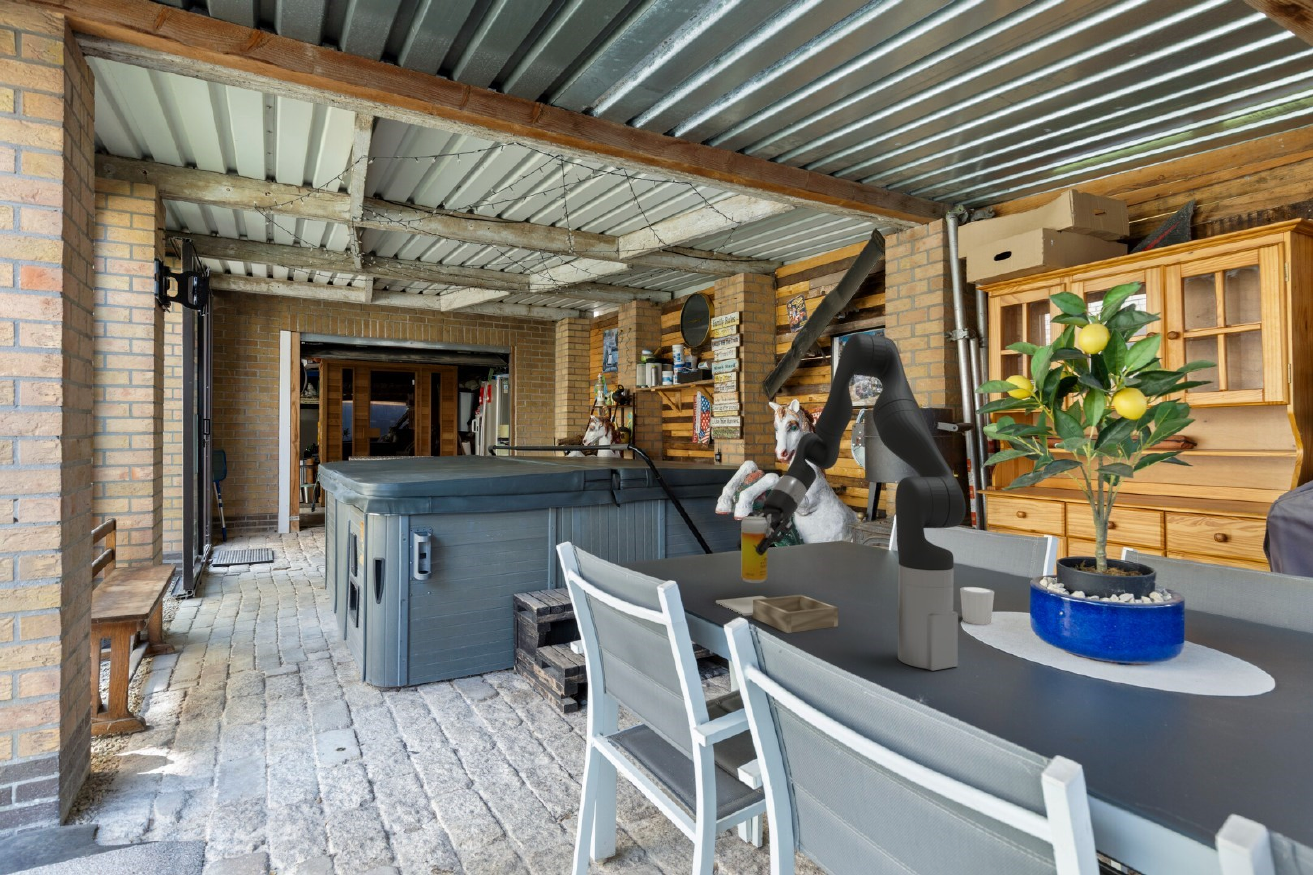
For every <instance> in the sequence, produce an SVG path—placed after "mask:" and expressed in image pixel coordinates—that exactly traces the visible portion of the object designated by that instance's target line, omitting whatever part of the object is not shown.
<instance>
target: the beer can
mask: <svg viewBox="0 0 1313 875" xmlns="http://www.w3.org/2000/svg"><path fill="white" fill-rule="evenodd" d="M740 524H741V525H740V528H741V531H740V532H741V533H740V534H741V537H740V539H741V551H740V552H741V554H740V555H741V556H740V559H741V560H740V563H741V564H740V567H741V570H740V573H741V574H740V578H742V580H743V582H744V583H745V582H746V583H749V584H760V583H761V584H762V583H765V581H766V580H767V579H768V550H767V551H766V552H765V553H764V554H763V555H759V554H758V553H757V552H756V548H757V546H758V545H759V543H760V542H761V540H762V539H763V538H765V533H766V528H767V521H766V518H764V517H747V516H743V517H742V520H741V523H740Z"/></svg>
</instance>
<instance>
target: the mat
mask: <svg viewBox="0 0 1313 875" xmlns="http://www.w3.org/2000/svg"><path fill="white" fill-rule="evenodd" d="M765 598H767V597H765V596H763V595H757V596H747V597H746V596H745V597H738V598H737V597H736V598H729V599H717V600H715V604H716V605H719V604H720V605H719V606H721V605H722V606H721V607H724V608H726V609H728V608H729V609H728V610H730V609H731V610H730V611H732V610H733V611H732V612H735V613H737V612H738V613H737V614H739V615H741V614H742V615H741V616H742V617H743V616H744V617H746V616H753V600H755V599H765Z"/></svg>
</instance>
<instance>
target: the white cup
mask: <svg viewBox="0 0 1313 875" xmlns="http://www.w3.org/2000/svg"><path fill="white" fill-rule="evenodd" d="M959 590H960V591H959V592H960V602H961V613H962V621H963V622H965V623H969V624H973V625H978V626H979V625H981V626H984V625H990V624H992V616H993V609H994V608H993V607H994V598H995V590H992V589H989V588H984V587H978V586H964V587H960V589H959Z"/></svg>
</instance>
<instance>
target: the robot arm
mask: <svg viewBox="0 0 1313 875" xmlns="http://www.w3.org/2000/svg"><path fill="white" fill-rule="evenodd" d="M854 376H863V377H868V378H875V379H877V380H878V381H879V382H880V384H881V387H882V390H881V392H880V394H879V395H878V397H877V399H876V400H875V402H874V405H873V409H872V420H873V422H874V425H875V428H876V431H877V433H878V436H879V438H880V440H881V442H882V443H883V445H884V446H885V447H886V448H887V449H888V450H889V451H890V452H892V453H893V454H894V455H895V456H896V457H898V458H899V459H900V460H901V461H903V462H905V463H906V464H907V465H908V466H910V467H911V468H912V469H913V470H914V471H915V472H916V473H917V474H918V476H907V477H903V478H901V480H899V482H898V484H897V486H896V490H895V499H894V500H895V502H894V504H895V522H896V528H895V529H896V547H897V554H898V577H897V578H898V584H897V586H898V588H897V590H898V593H897V595H898V596H897V597H898V598H897V599H898V600H897V601H898V602H897V603H898V604H897V611H898V612H897V659H898V660H899V661H900V662H901V663H903V664H906V665H908V666H911V667H915V668H920V669H925V670H929V671H937V670H938V671H939V670H944V669H949V668H950V669H951V668H955V667H958V665H959V663H958V660H959V659H958V655H959V654H958V653H959V652H958V650H959V649H958V648H959V646H958V644H959V642H958V641H959V637H958V633H959V613H958V612H957V611H954V564H955V562H954V554H953V552H952V551H951V550H949V549H946V548H945V547H941V546H939V545H936V544H933V543H932V542H930V541H929V540H928V539H927V538H926V535H925V529H949V528H955V527H957V526H959V525H961V524H962V523H963V522H964V519H965V516H966V509H967V508H966V500H965V497H964V492H963V490H962V488H961V486H960V483H959V481H958V480H957V478H956V476H955V475H954V473H953V471H952V469H951V468H950V466H949V464H948V463H947V462H946V460H945V458H944V456H943V455H942V453H941V451H940V450H939V448H938V446H937V443H936V442H935V439H934V437H933V435H932V434H931V431H930V429H929V426H928V424H927V421H926V419H925V416H924V414H923V412H922V409H921V408H920V405H919V403H918V402H917V399H916V397H915V396H914V393H913V391H912V388H911V386H910V384H909V381H908V378H907V375H906V372H905V369H904V365H903V362H902V358H901V355H900V352H899V348H898V346H897V344H896V343H895V341H894V340H893V339H891V338H888V337H886V336H881V335H874V334H867V333H853V334H852V335H850V336H849V337H848V338H847V340H846V342H845V344H844V345H843V348H842V350H841V353H840V357H839V360H838V363H837V366H836V369H835V373H834V376H833V379H832V383H831V387H830V389H829V394H828V396H827V399H826V402H825V403H824V404H825V405H824V406H823V408H822V409H821V410H822V411H821V413H820V414H819V416H818V418H817V421H816V422H815V425H814V432H807V433H805V434H803V435H802V436H801V438H800V439H799V442H798V444H797V447H796V450H795V454H794V457H793V460H792V462H791V464H790V466H789V467H788V469H786V471H785V473H784V474H783V475H782V477H781V478H780V479H779V481H777V482H776V484H774V487H773V488H772V490H771V491H770V492H769V494H768V496H766V498H765V499H764V501H763V502H762V509H761V510H760V512H758V513H757V514H754V513H753V512H749V513H748V514H747V516H746V517H764V518H766V521H767V528H766V533H765V538H763V539H762V540H761V542H760V543H759V545H758V546H757V548H756V552H757V553H758V554H759V555H763V554H764V553H765V552H766V551H767V552H768V549H769V547H770V546H771V545H773V544H774V543H776V544H780V543H781V542H782V541H783V539H784V538H785V537H786V536H787V535H788V534H789V532H790V531H791V530H792V529H793V527H794V523H793V522H792V521H791V518H792V517H793V515H794V514H795V512H796V511H797V509H798V507H799V506H800V505H801V503H802V502H803V500H804V498H805V497H806V494H807V492H808V491H809V489H810V488H811V487H812V485H813V483H814V482H815V480H816V478H817V472H816V471H815V469H814V468H813V466H812V465H814V466H816V467H817V468H819V469H821V470H829V469H831V468H833V467H834V466H835V465H836V464H837V461H838V459H839V455H840V450H841V442H842V437H843V435H844V433H845V431H846V429H847V428H848V426H849V425H850V424H849V423H850V421H851V420H852V417H853V412H854V406H853V405H854V404H853V400H852V396H851V391H850V383H851V381H852V379H853V377H854ZM808 462H809V463H811V464H812V465H810V464H809V463H808ZM739 531H740V532H741V527H740V528H739ZM736 547H737V549H738V550H739V551H740V552H741V538H740V539H739V540H738V542H737V543H736Z"/></svg>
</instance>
